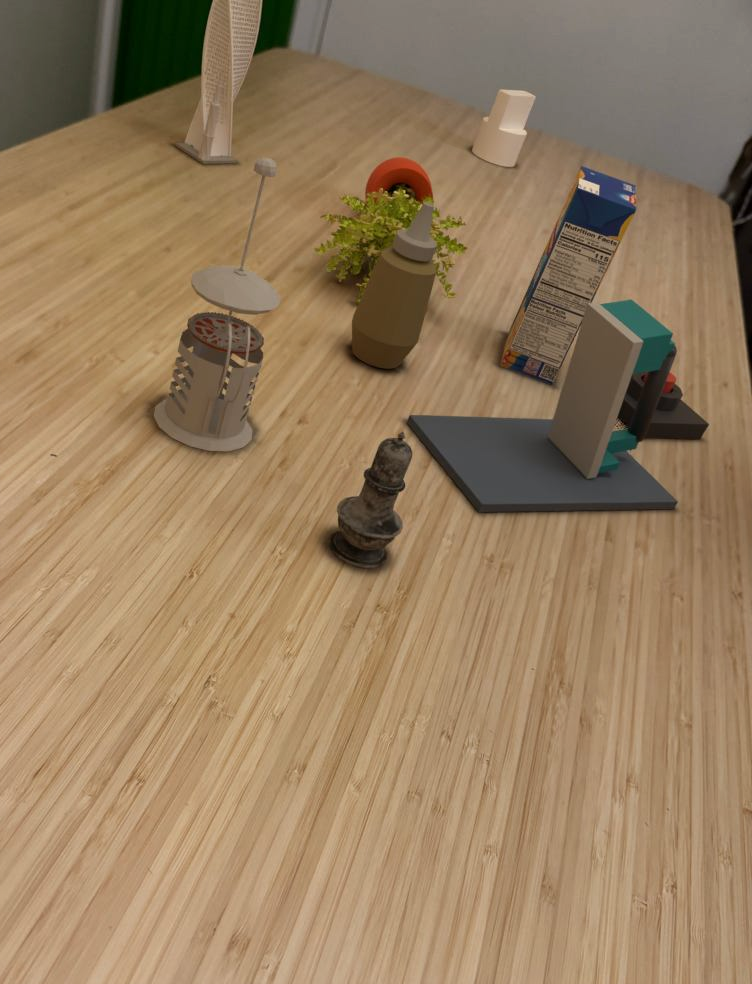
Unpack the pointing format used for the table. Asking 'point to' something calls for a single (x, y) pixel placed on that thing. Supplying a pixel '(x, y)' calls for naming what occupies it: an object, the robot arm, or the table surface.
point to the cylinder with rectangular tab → (504, 128)
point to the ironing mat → (530, 468)
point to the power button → (669, 382)
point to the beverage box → (569, 274)
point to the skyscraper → (222, 78)
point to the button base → (664, 413)
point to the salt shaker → (373, 508)
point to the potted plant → (388, 219)
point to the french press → (219, 355)
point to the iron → (610, 384)
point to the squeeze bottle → (396, 296)
